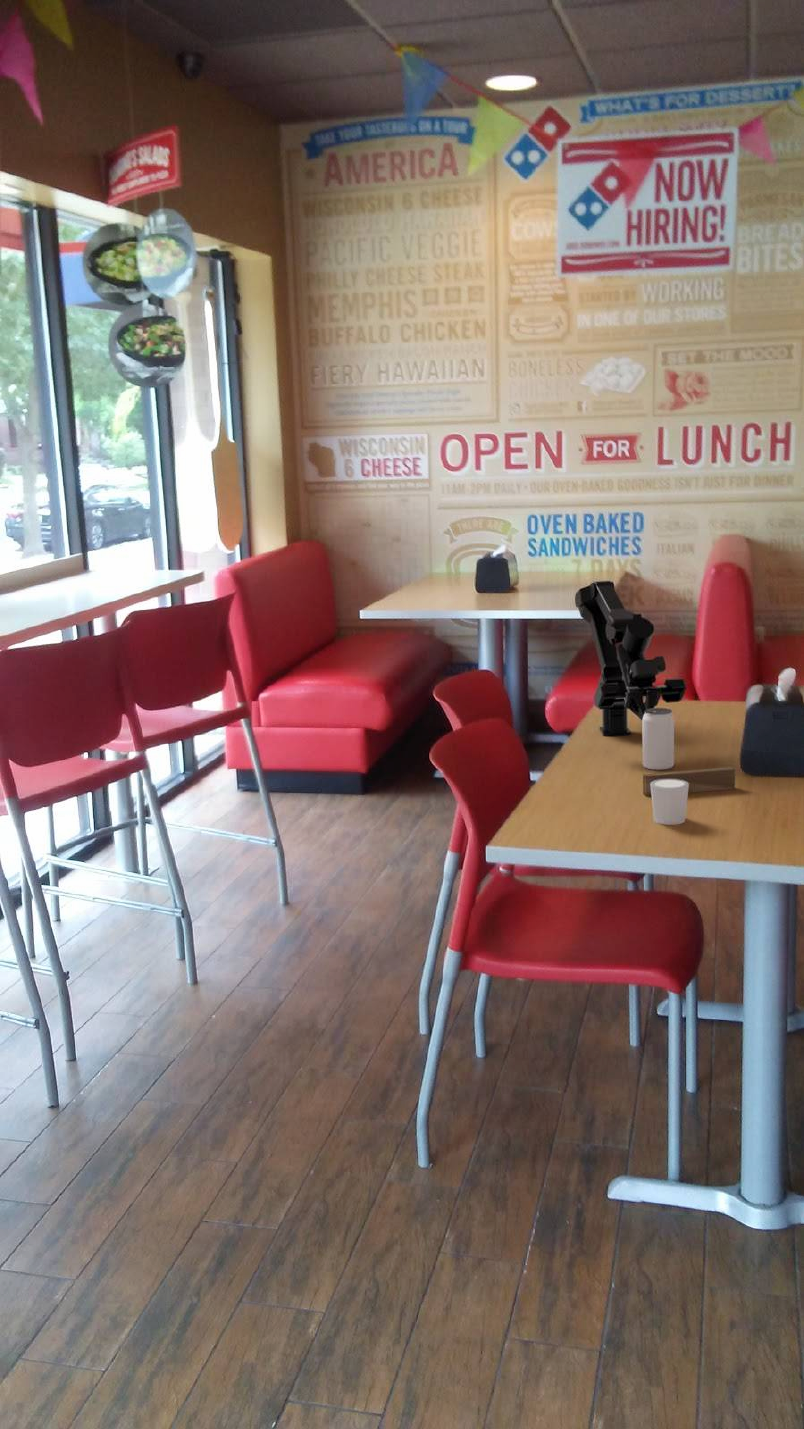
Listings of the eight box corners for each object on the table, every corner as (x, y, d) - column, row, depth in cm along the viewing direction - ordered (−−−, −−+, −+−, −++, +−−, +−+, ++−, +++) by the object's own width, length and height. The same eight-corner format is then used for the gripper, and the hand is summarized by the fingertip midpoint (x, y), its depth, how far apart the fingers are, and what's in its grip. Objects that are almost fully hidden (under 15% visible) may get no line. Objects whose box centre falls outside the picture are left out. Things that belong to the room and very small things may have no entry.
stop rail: (643, 793, 252) (643, 774, 251) (731, 786, 254) (731, 766, 253) (645, 796, 251) (645, 776, 250) (734, 788, 253) (735, 769, 252)
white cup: (651, 825, 233) (651, 788, 231) (649, 814, 239) (649, 778, 238) (690, 825, 232) (690, 788, 230) (687, 814, 238) (687, 777, 237)
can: (672, 762, 274) (672, 707, 271) (675, 770, 267) (675, 714, 265) (641, 762, 274) (641, 707, 272) (643, 771, 268) (643, 714, 265)
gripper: (599, 647, 274) (614, 708, 266) (683, 641, 277) (701, 701, 268) (589, 676, 284) (604, 736, 275) (671, 670, 286) (688, 730, 278)
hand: (649, 725), depth 274 cm, fingers closed
